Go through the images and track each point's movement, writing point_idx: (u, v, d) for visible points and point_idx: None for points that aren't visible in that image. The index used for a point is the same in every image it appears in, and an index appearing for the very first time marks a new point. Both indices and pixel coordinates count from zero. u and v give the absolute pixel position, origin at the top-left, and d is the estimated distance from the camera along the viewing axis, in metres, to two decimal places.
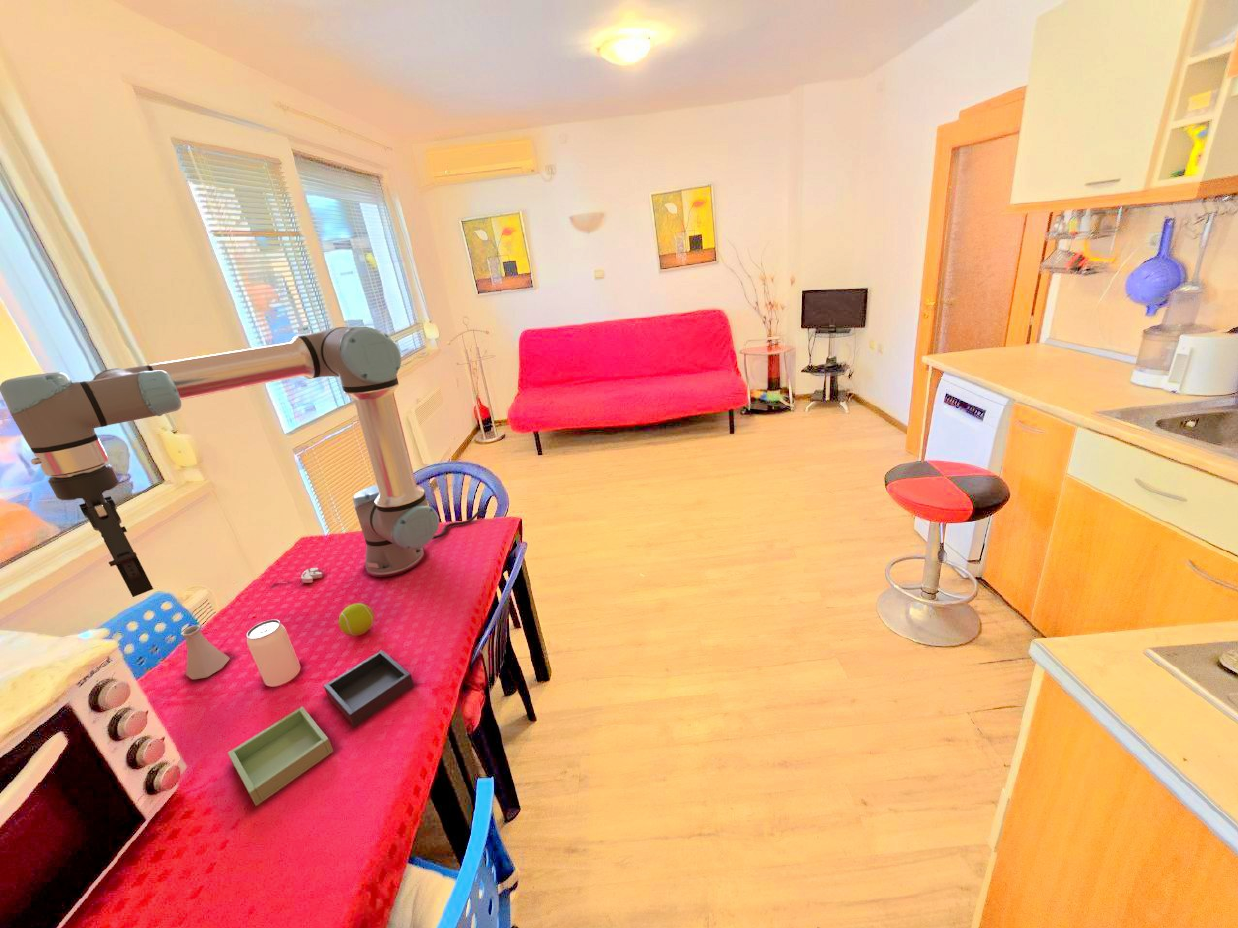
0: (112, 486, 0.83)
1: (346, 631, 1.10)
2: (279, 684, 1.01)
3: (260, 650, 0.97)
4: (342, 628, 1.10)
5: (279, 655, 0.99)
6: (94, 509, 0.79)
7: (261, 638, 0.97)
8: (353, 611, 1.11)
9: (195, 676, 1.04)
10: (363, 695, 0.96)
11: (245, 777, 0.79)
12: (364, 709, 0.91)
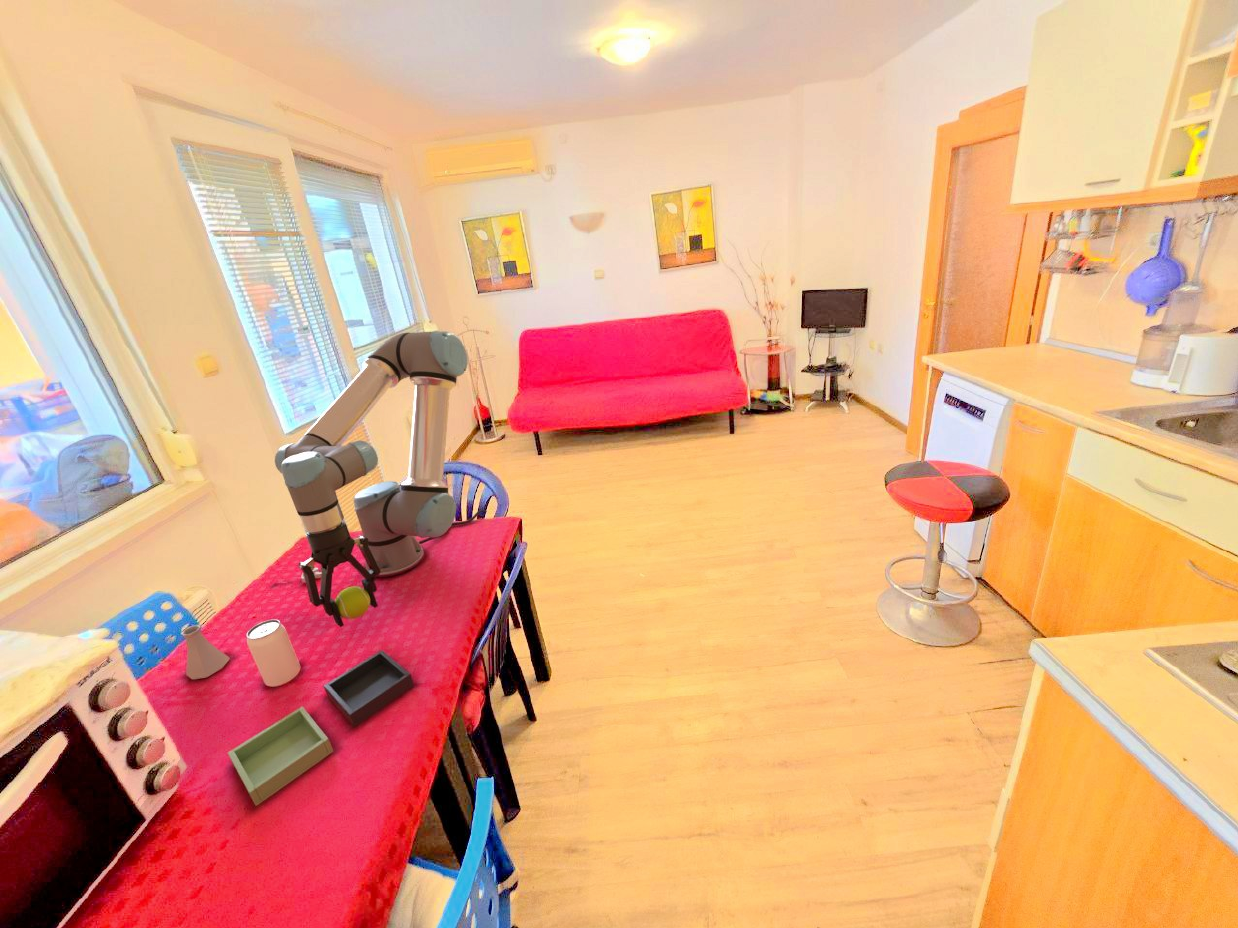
0: (322, 549, 1.02)
1: (342, 614, 1.09)
2: (279, 684, 1.01)
3: (260, 650, 0.97)
4: None
5: (279, 655, 0.99)
6: (299, 566, 1.03)
7: (261, 638, 0.97)
8: (349, 594, 1.10)
9: (195, 676, 1.04)
10: (363, 695, 0.96)
11: (245, 777, 0.79)
12: (364, 709, 0.91)
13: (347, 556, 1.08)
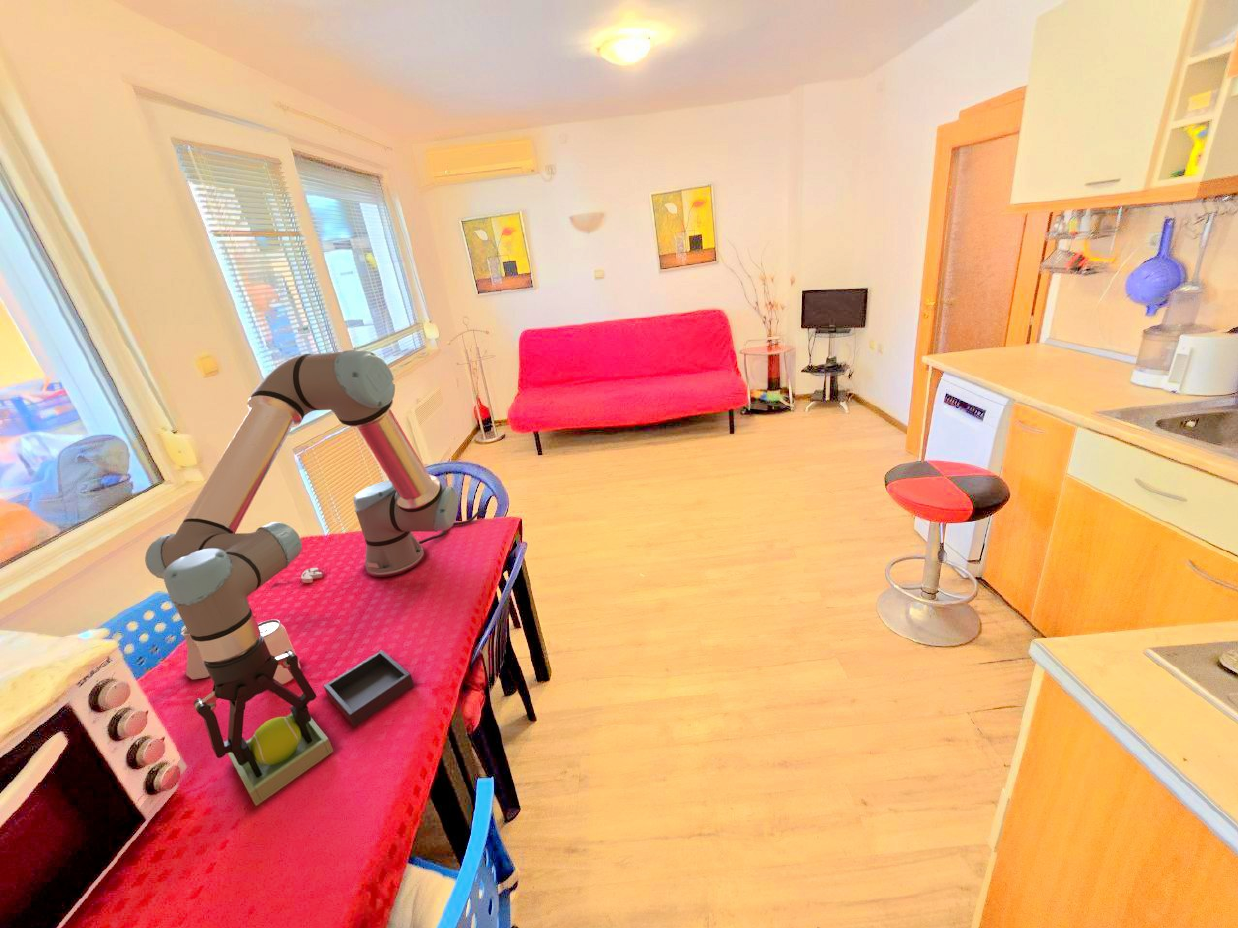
0: (225, 682, 0.74)
1: (259, 761, 0.81)
2: None
3: None
4: (254, 756, 0.81)
5: (279, 655, 0.99)
6: (194, 706, 0.74)
7: None
8: (269, 733, 0.81)
9: (195, 676, 1.04)
10: (363, 695, 0.96)
11: (245, 777, 0.79)
12: (364, 709, 0.91)
13: (266, 684, 0.79)
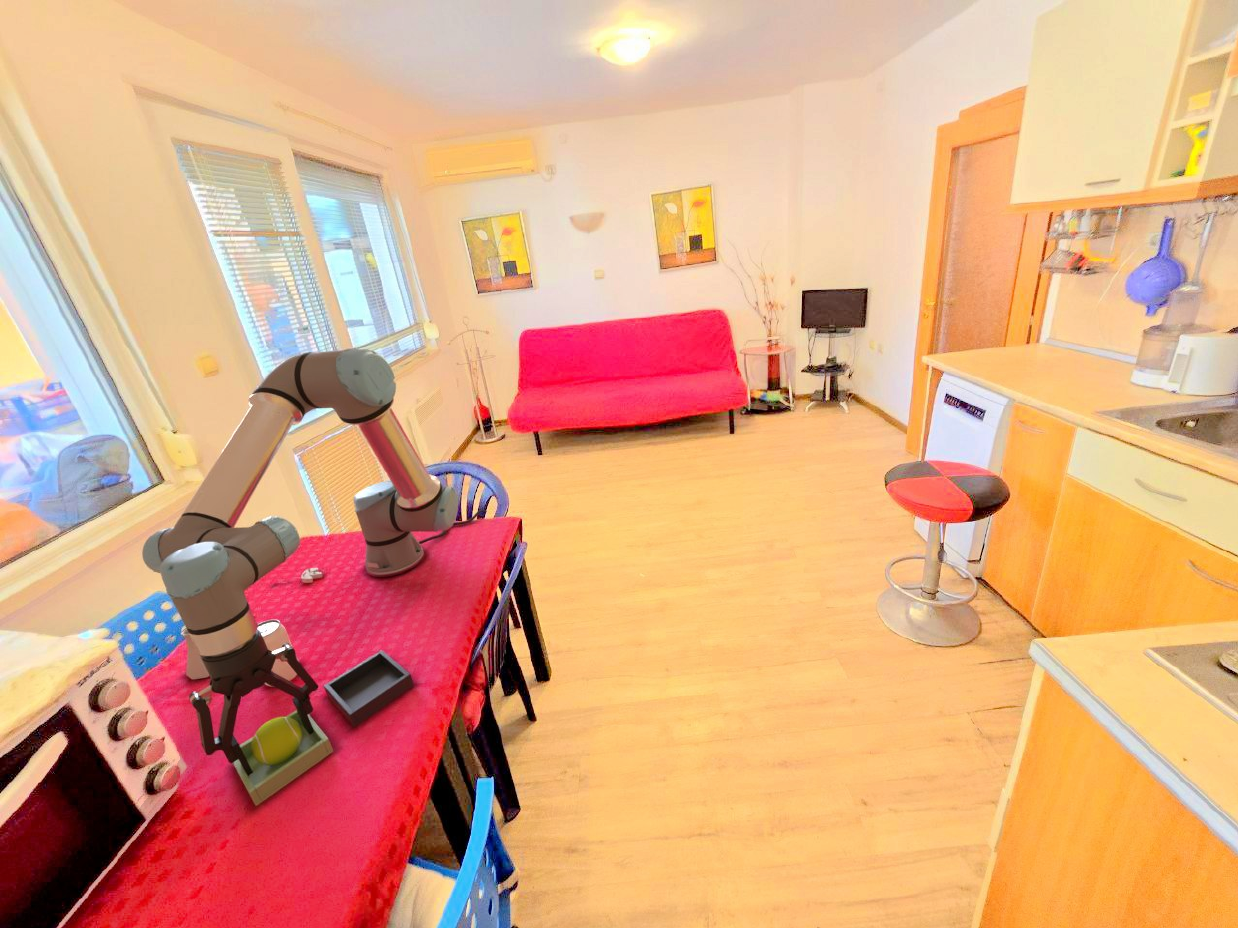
0: (222, 676, 0.74)
1: (260, 761, 0.81)
2: None
3: None
4: (255, 756, 0.81)
5: None
6: (190, 699, 0.74)
7: None
8: (270, 733, 0.81)
9: (195, 676, 1.04)
10: (363, 695, 0.96)
11: (245, 777, 0.79)
12: (364, 709, 0.91)
13: (264, 678, 0.79)
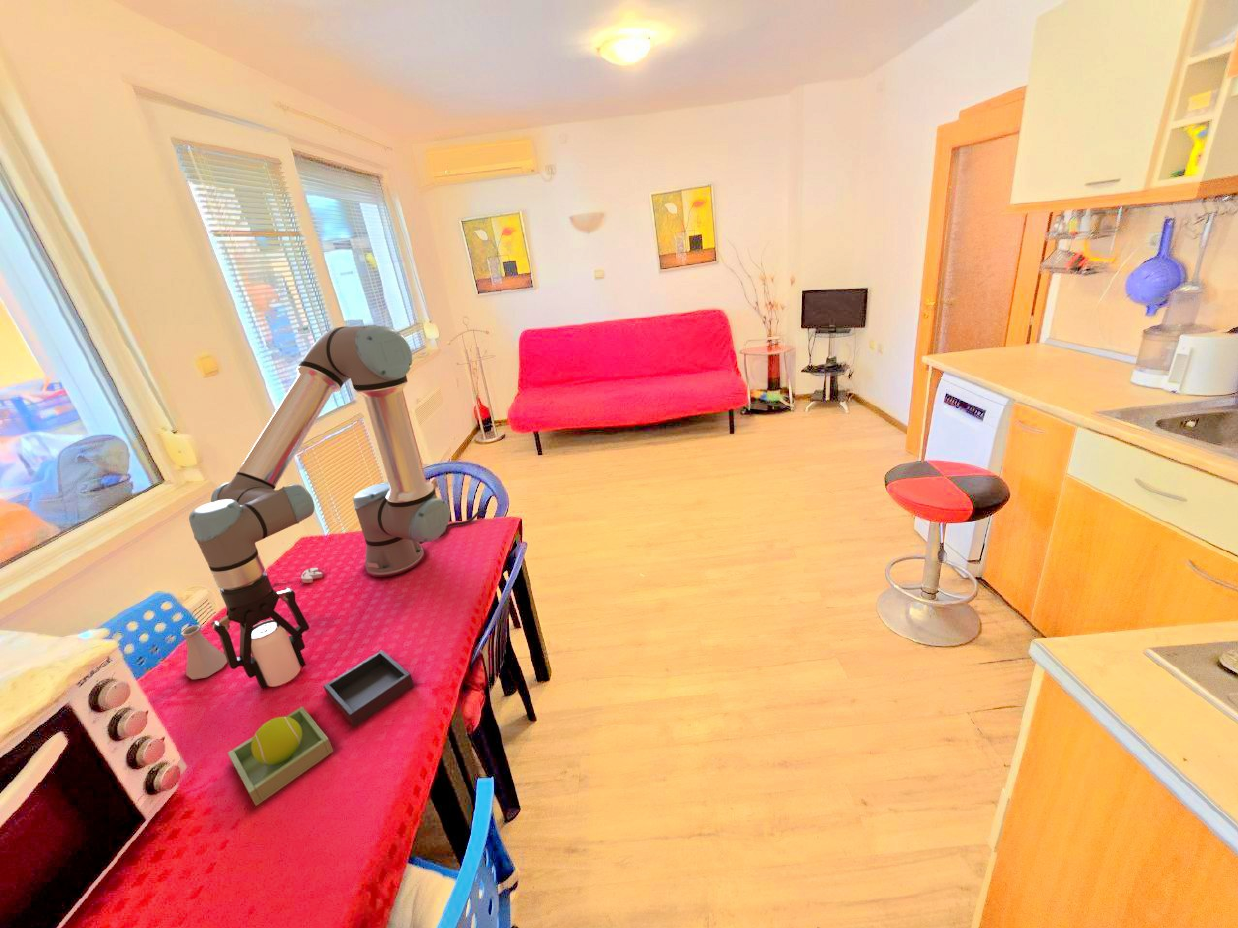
0: (237, 606, 0.93)
1: (260, 761, 0.81)
2: (279, 684, 1.01)
3: (260, 650, 0.97)
4: (255, 756, 0.81)
5: (279, 655, 0.99)
6: (212, 626, 0.93)
7: (261, 638, 0.97)
8: (270, 733, 0.81)
9: (195, 676, 1.04)
10: (363, 695, 0.96)
11: (245, 777, 0.79)
12: (364, 709, 0.91)
13: (269, 612, 0.98)
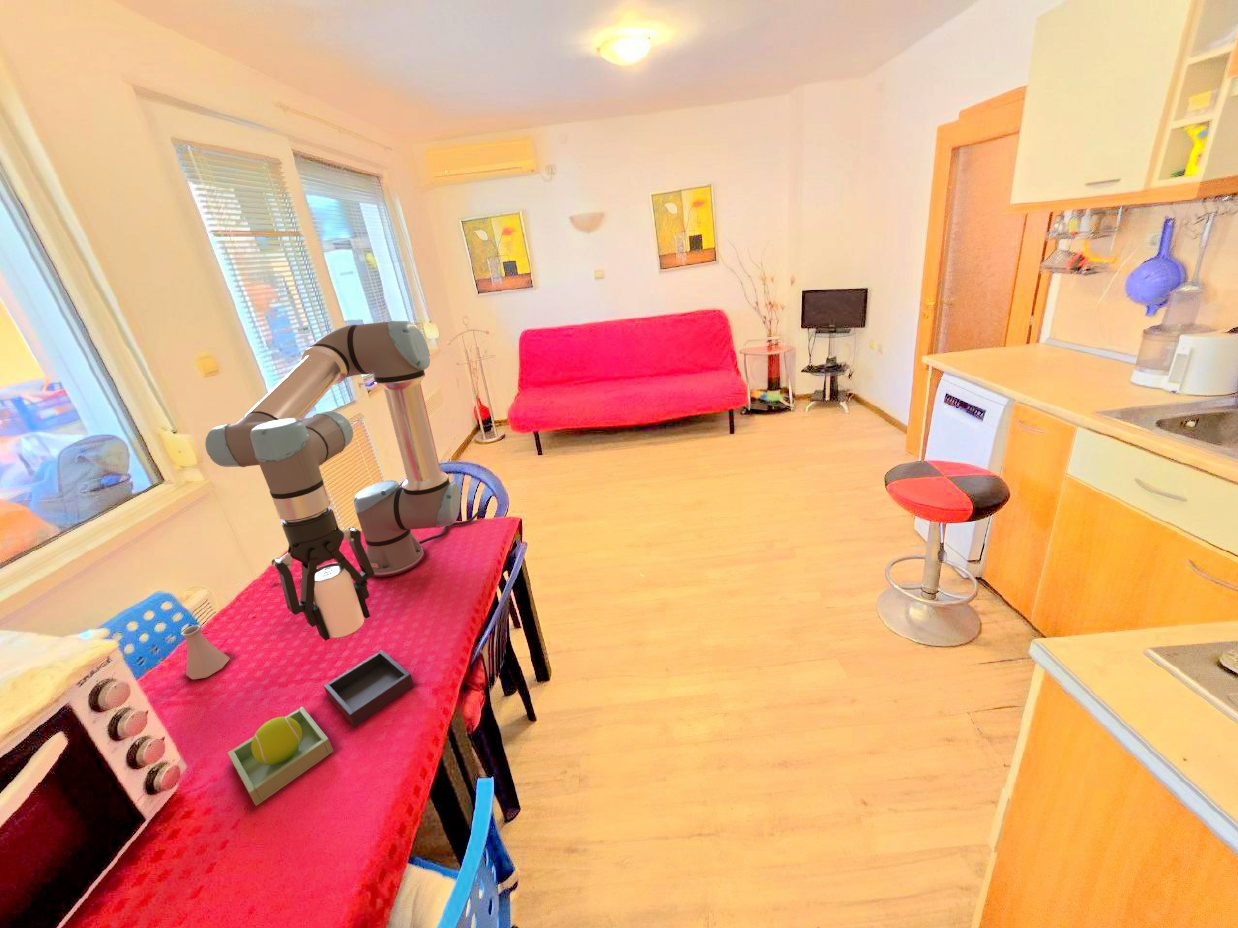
0: (301, 541, 0.81)
1: (260, 761, 0.81)
2: (343, 635, 0.89)
3: (324, 594, 0.85)
4: (255, 756, 0.81)
5: (344, 601, 0.87)
6: (273, 564, 0.81)
7: (325, 581, 0.85)
8: (270, 733, 0.81)
9: (195, 676, 1.04)
10: (363, 695, 0.96)
11: (245, 777, 0.79)
12: (364, 709, 0.91)
13: (333, 552, 0.86)
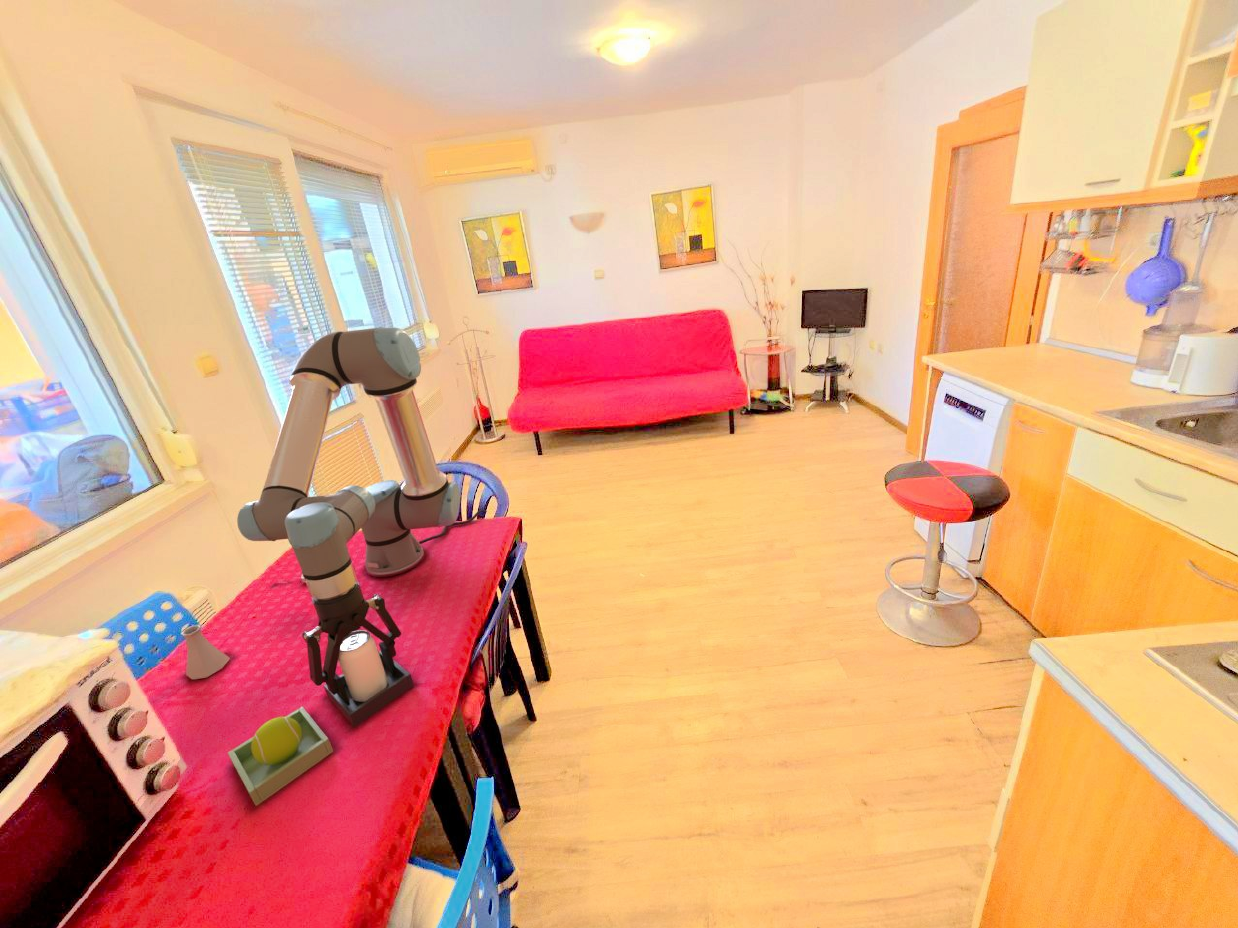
0: (331, 617, 0.86)
1: (260, 761, 0.81)
2: None
3: (352, 663, 0.91)
4: (255, 756, 0.81)
5: (370, 668, 0.93)
6: (303, 637, 0.86)
7: (353, 650, 0.91)
8: (270, 733, 0.81)
9: (195, 676, 1.04)
10: None
11: (245, 777, 0.79)
12: (364, 709, 0.91)
13: (361, 622, 0.92)
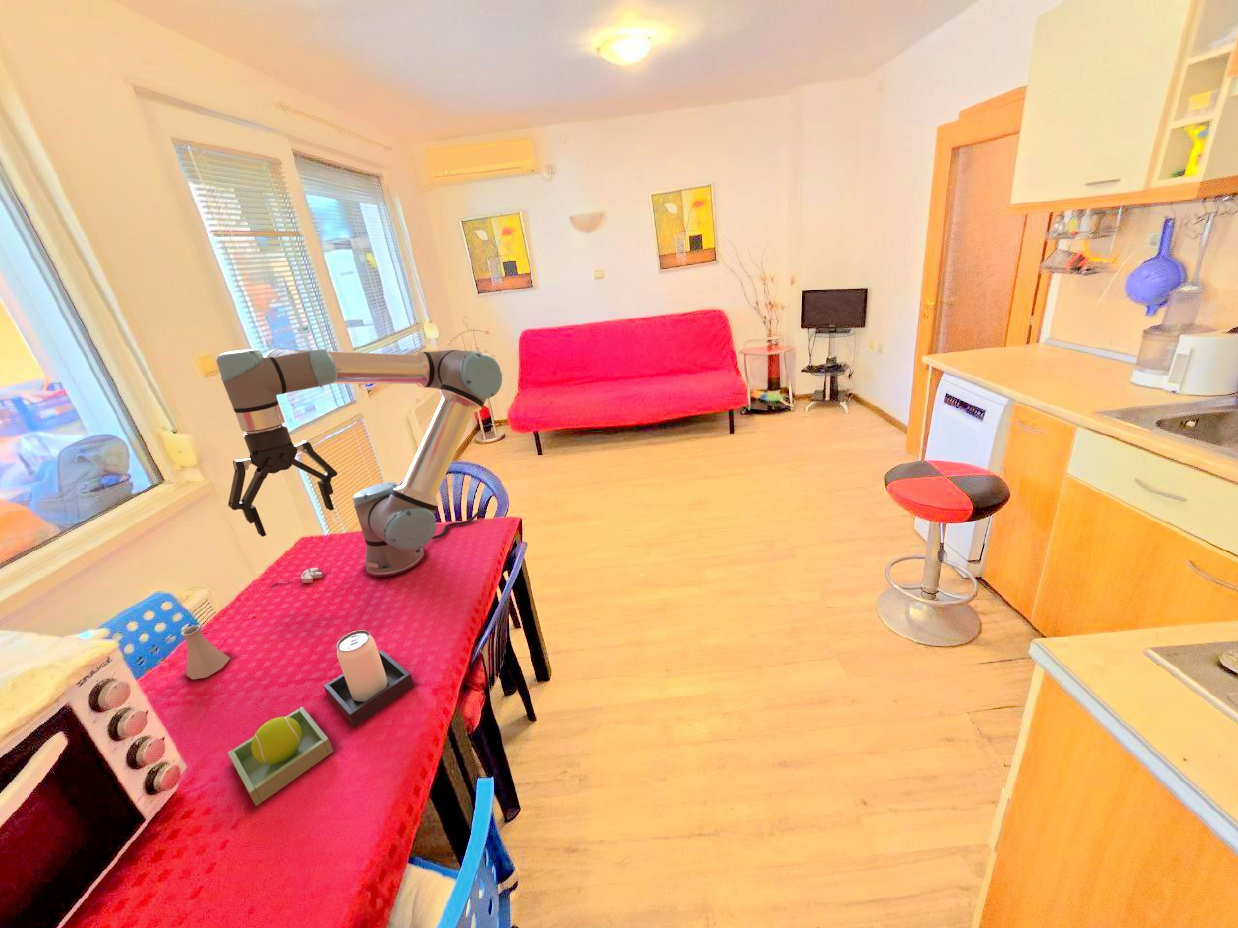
0: (259, 450, 1.00)
1: (260, 761, 0.81)
2: None
3: (352, 663, 0.91)
4: (255, 756, 0.81)
5: (370, 668, 0.93)
6: (233, 462, 0.99)
7: (353, 650, 0.91)
8: (270, 733, 0.81)
9: (195, 676, 1.04)
10: None
11: (245, 777, 0.79)
12: (364, 709, 0.91)
13: (290, 461, 1.05)
